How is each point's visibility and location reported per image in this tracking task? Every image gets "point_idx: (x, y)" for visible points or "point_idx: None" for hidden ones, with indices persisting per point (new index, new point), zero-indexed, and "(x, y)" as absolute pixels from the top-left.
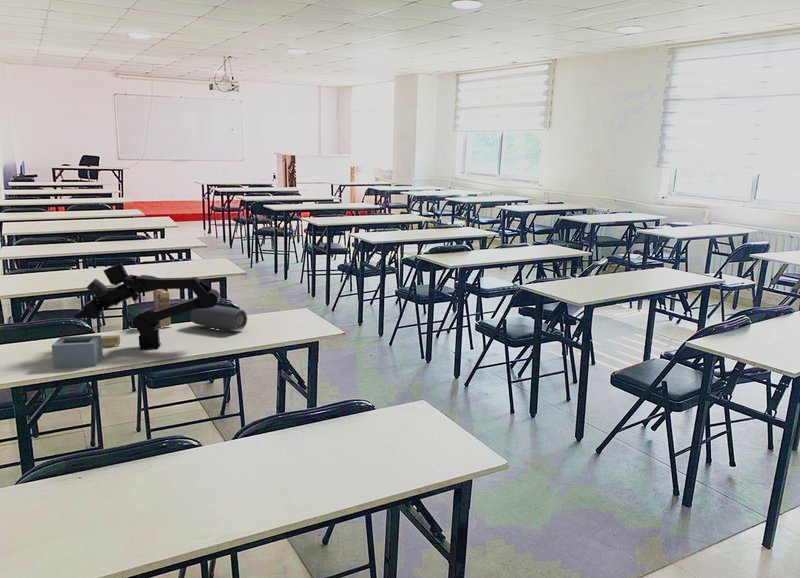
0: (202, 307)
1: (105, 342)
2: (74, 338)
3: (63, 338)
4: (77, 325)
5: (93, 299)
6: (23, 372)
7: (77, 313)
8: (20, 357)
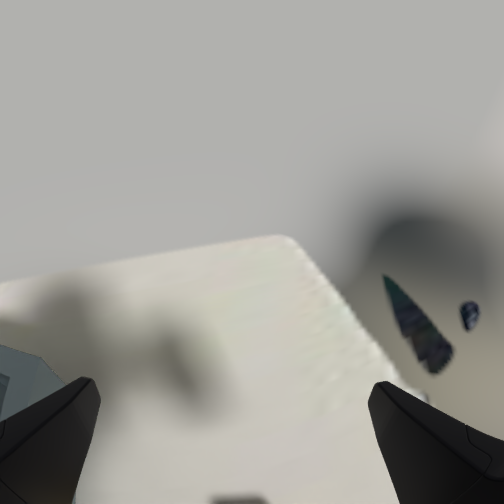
0: None
1: None
2: (2, 417)
3: (14, 368)
4: (464, 321)
5: (482, 477)
6: (14, 308)
7: (40, 401)
8: (155, 279)
